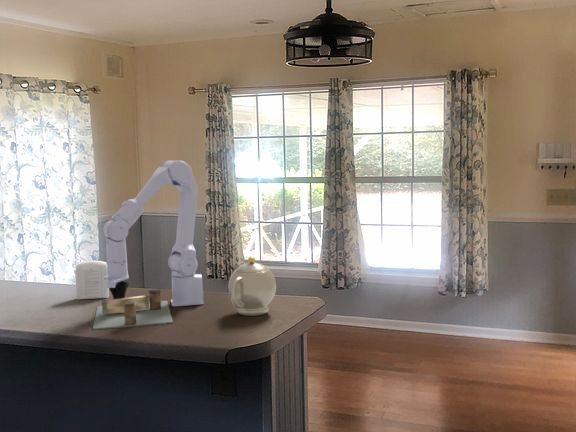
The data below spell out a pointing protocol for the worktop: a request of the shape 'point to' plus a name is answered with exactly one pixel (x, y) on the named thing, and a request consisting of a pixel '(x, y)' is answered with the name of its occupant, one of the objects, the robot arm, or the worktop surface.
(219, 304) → the worktop surface
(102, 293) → the white upright rounded block
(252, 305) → the teapot
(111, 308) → the cream long bar
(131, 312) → the latch post
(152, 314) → the mat
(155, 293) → the brown grey short cylinder
